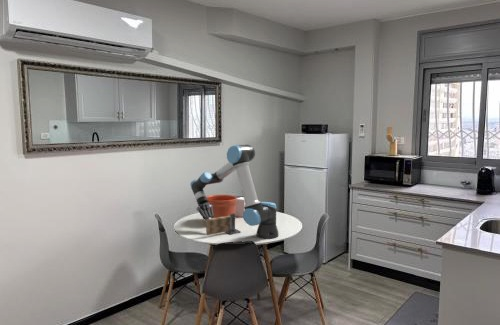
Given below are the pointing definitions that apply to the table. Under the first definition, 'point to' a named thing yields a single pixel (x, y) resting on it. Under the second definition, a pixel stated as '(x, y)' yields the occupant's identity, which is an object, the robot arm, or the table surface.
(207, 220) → the gate leaf
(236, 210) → the supplement box
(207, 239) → the table surface
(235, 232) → the gate post
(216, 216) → the pot
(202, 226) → the table surface
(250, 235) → the table surface
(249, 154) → the robot arm
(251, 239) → the table surface
